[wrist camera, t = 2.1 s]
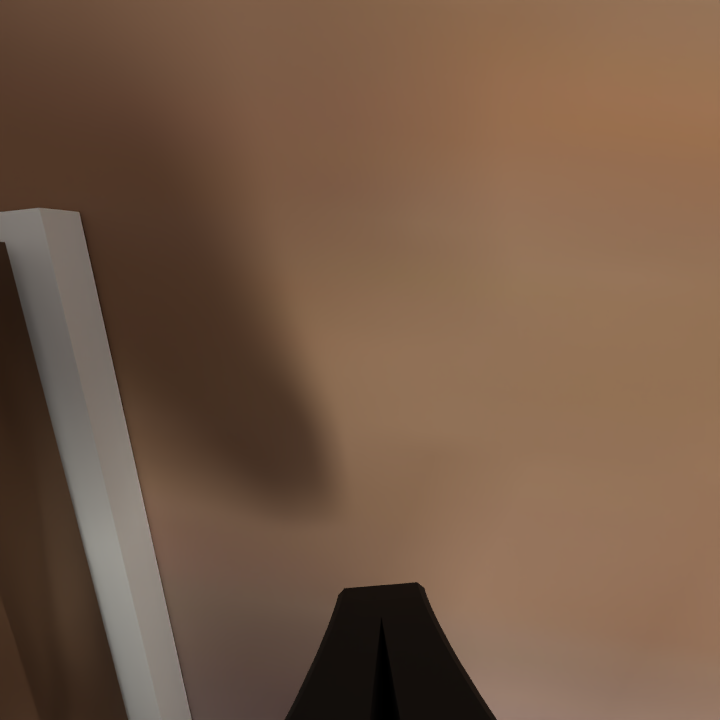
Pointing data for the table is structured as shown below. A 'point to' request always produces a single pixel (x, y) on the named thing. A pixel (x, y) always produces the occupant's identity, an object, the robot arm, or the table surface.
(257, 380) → the table surface
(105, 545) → the board
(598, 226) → the table surface
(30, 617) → the brown rectangular box
